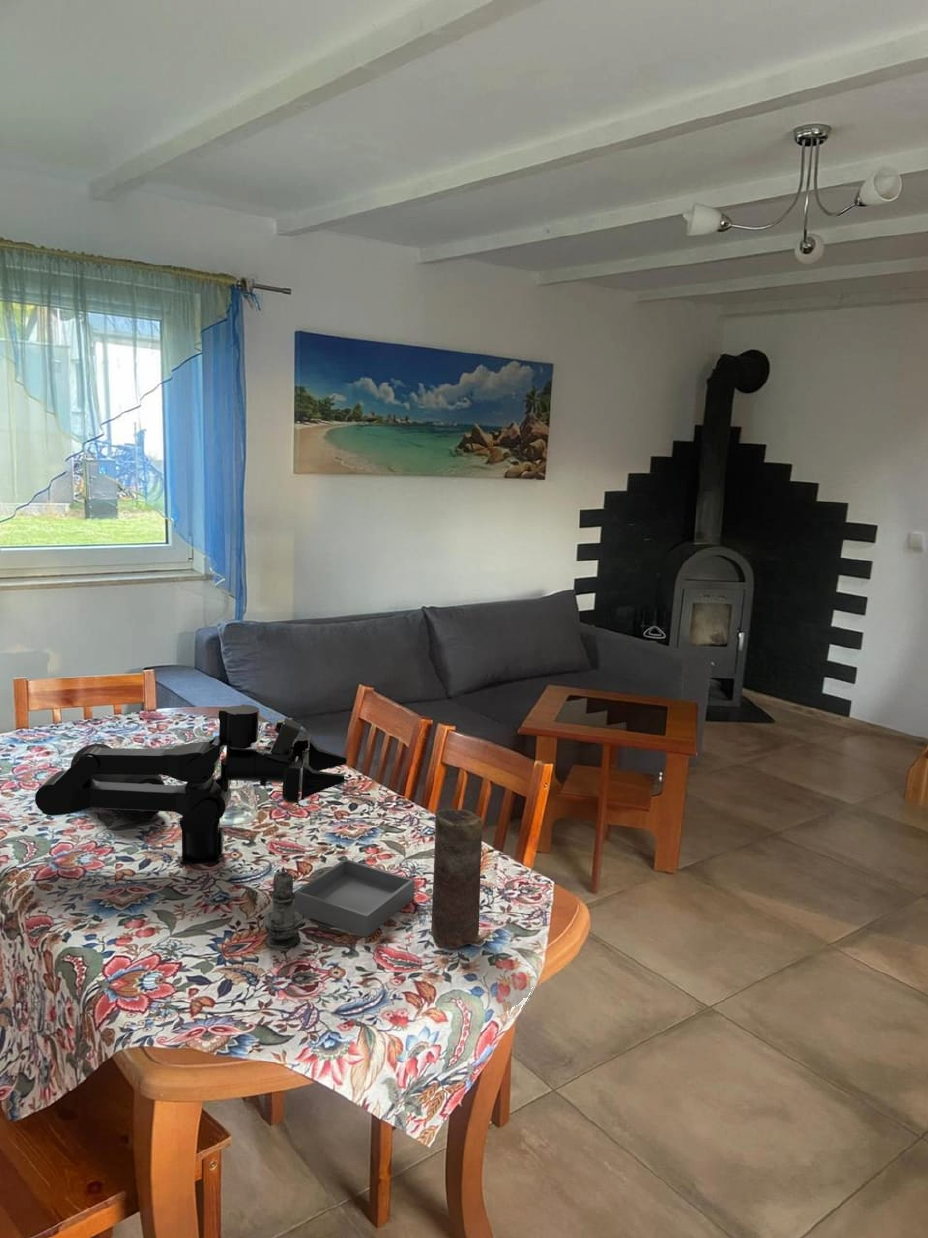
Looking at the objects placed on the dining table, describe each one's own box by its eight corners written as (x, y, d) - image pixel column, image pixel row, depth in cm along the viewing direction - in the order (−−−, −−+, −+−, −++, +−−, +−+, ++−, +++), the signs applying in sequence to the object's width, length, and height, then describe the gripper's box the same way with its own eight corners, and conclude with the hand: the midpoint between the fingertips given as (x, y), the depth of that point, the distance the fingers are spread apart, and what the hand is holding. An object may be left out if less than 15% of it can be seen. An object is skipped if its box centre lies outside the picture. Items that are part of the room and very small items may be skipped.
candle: (429, 924, 142) (434, 804, 138) (475, 924, 142) (481, 805, 139) (431, 951, 134) (437, 825, 130) (480, 950, 135) (487, 825, 131)
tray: (293, 912, 143) (293, 892, 143) (344, 877, 156) (345, 858, 155) (366, 937, 137) (367, 916, 136) (414, 899, 149) (414, 879, 149)
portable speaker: (171, 816, 178) (170, 768, 176) (123, 830, 171) (121, 780, 169) (113, 780, 195) (111, 736, 193) (66, 791, 188) (65, 745, 186)
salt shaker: (293, 954, 132) (294, 878, 129) (256, 948, 133) (256, 873, 130) (308, 934, 137) (309, 861, 135) (272, 928, 138) (272, 855, 136)
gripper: (250, 738, 148) (345, 743, 150) (265, 706, 167) (350, 711, 168) (248, 802, 150) (341, 806, 152) (263, 763, 169) (346, 767, 170)
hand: (345, 769), depth 161 cm, fingers open, 9 cm apart
